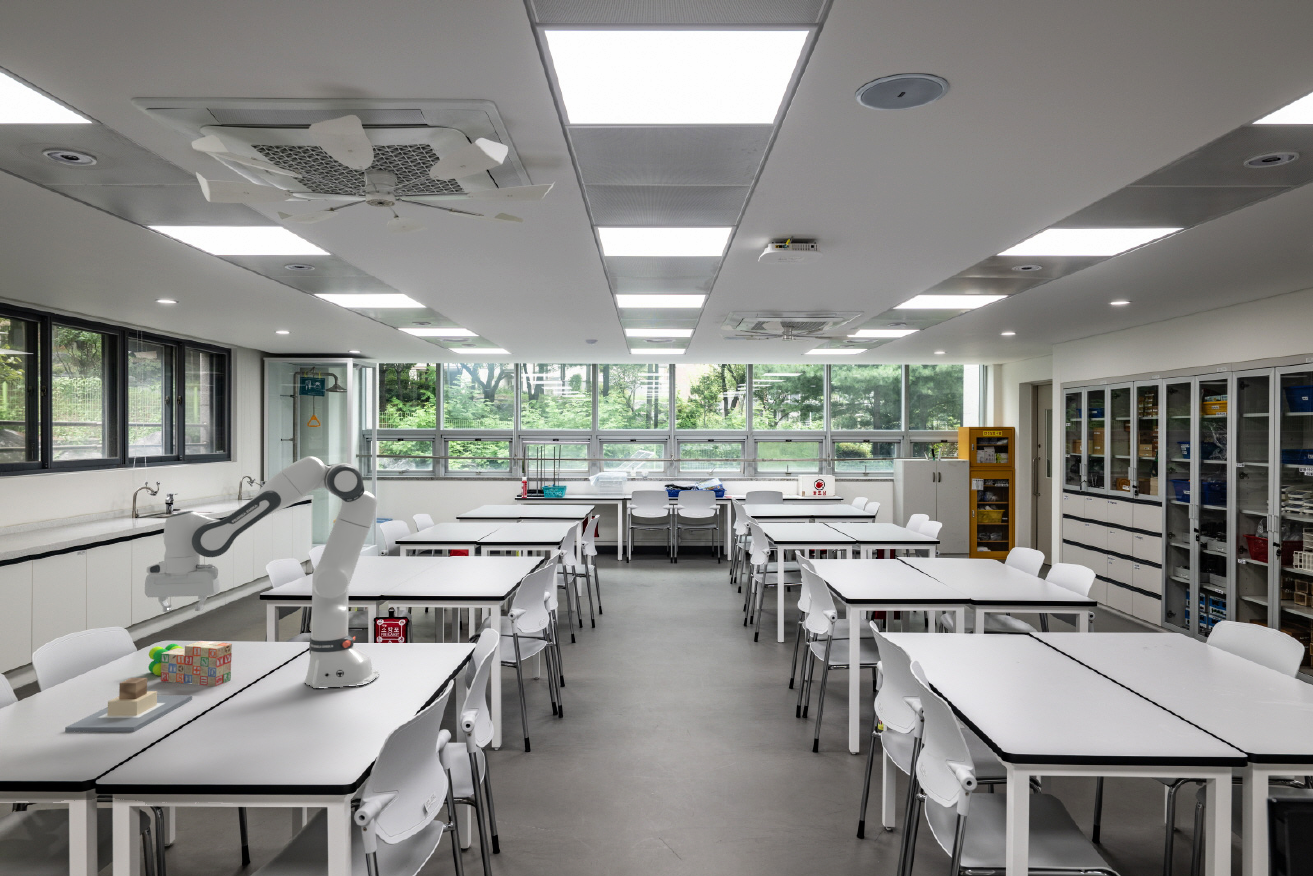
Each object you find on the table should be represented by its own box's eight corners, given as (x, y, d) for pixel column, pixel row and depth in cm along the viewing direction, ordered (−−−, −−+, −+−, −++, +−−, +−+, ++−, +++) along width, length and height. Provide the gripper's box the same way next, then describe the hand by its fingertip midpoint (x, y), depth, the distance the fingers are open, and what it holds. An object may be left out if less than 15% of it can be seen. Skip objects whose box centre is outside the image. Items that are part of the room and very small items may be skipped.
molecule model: (185, 672, 233) (176, 666, 239) (186, 646, 233) (177, 641, 239) (155, 678, 226) (146, 673, 232) (155, 651, 226) (147, 646, 232)
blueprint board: (191, 699, 207) (192, 682, 207) (134, 731, 183) (134, 712, 183) (131, 699, 207) (131, 682, 207) (65, 732, 183) (65, 712, 183)
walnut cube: (146, 693, 197) (147, 677, 197) (135, 699, 193) (136, 683, 193) (130, 693, 197) (131, 678, 197) (119, 699, 193) (119, 683, 193)
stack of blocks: (159, 681, 223) (160, 643, 224) (176, 675, 229) (177, 638, 230) (215, 686, 219) (216, 648, 219) (231, 680, 225) (232, 642, 226)
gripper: (223, 562, 211) (224, 607, 211) (155, 564, 210) (156, 609, 210) (211, 566, 205) (212, 612, 204) (140, 568, 204) (141, 614, 204)
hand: (183, 610), depth 207 cm, fingers open, 8 cm apart
